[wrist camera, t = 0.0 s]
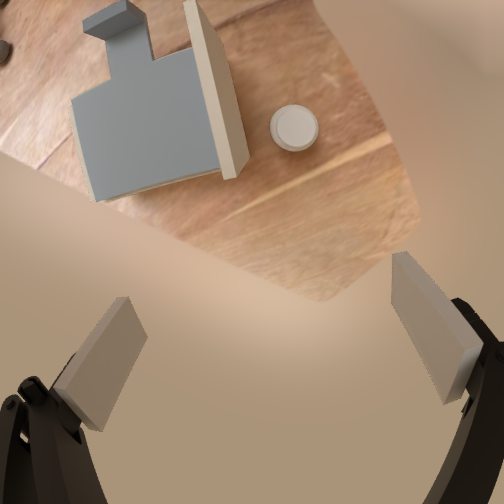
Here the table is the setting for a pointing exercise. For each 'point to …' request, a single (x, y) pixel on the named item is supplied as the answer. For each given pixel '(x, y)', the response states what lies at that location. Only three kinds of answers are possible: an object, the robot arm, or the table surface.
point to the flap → (141, 110)
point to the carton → (216, 98)
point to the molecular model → (3, 46)
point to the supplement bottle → (294, 127)
